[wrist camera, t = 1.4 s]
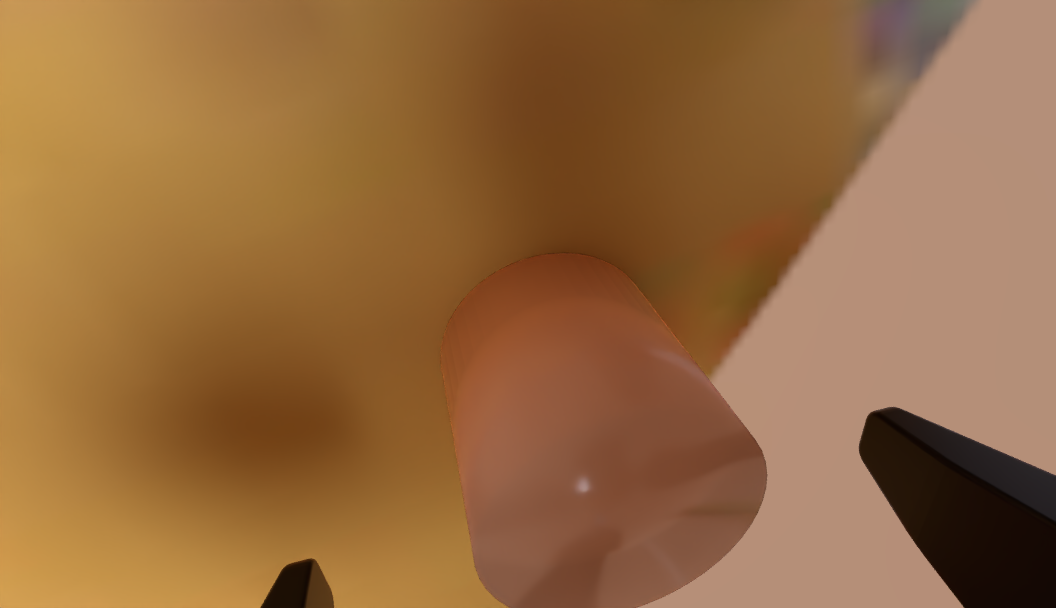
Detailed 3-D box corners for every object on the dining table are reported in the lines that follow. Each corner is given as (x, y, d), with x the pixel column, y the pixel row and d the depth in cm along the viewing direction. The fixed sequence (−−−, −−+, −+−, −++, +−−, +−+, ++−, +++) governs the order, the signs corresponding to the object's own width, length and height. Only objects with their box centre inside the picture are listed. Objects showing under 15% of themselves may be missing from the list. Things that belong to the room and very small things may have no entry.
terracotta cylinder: (648, 403, 14) (750, 574, 10) (460, 449, 13) (496, 649, 10) (650, 232, 11) (786, 374, 8) (419, 278, 11) (446, 457, 7)
